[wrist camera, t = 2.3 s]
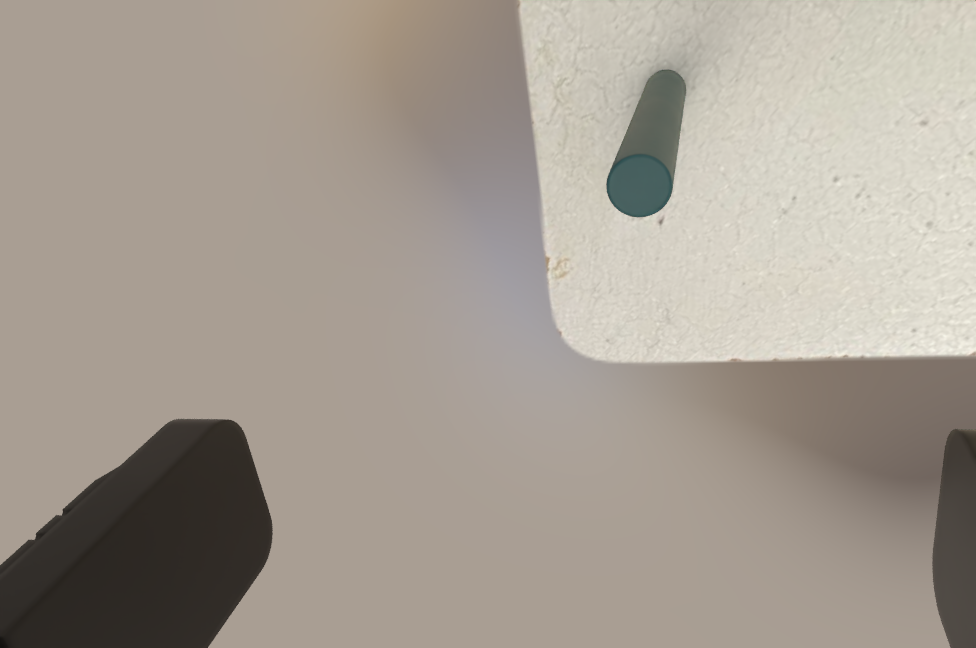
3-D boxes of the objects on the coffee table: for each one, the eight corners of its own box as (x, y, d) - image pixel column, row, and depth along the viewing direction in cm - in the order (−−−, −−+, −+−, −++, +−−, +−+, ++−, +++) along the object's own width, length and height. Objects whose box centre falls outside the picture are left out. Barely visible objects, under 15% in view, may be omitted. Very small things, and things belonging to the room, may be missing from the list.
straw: (646, 112, 32) (608, 220, 20) (643, 71, 31) (603, 156, 19) (686, 108, 31) (674, 216, 19) (685, 67, 31) (671, 151, 19)
